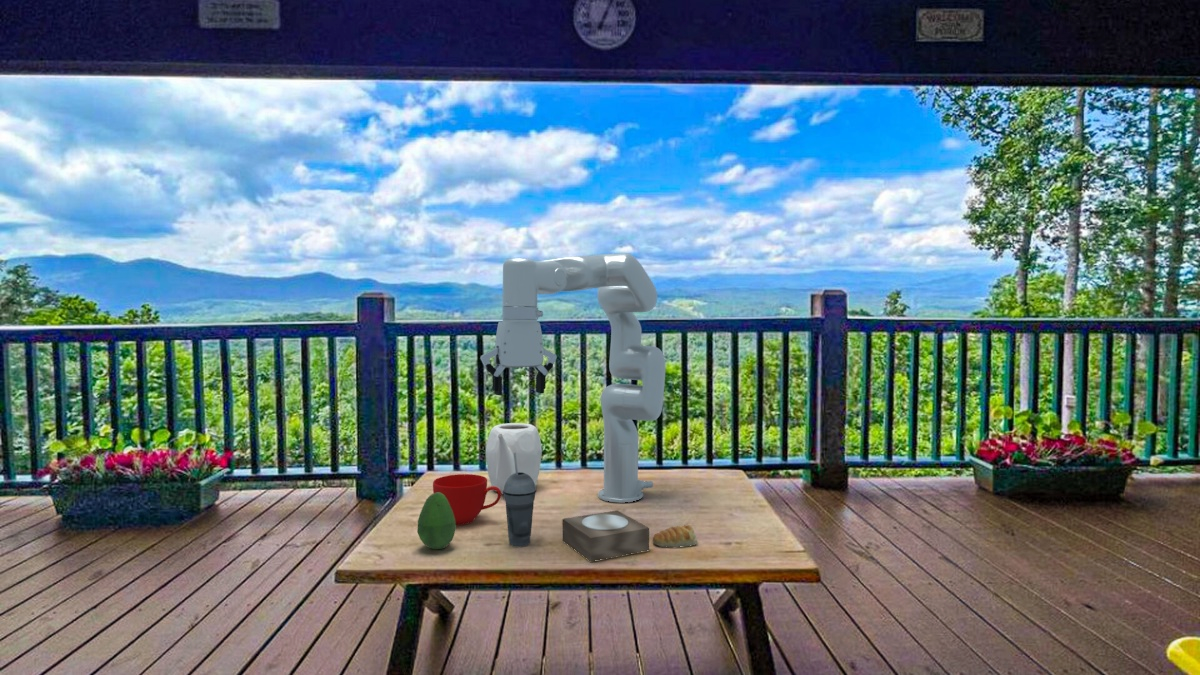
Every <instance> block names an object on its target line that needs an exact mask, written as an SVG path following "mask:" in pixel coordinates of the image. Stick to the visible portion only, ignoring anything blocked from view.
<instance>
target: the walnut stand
mask: <svg viewBox="0 0 1200 675" xmlns="http://www.w3.org/2000/svg"><path fill="white" fill-rule="evenodd" d="M561 524H562V528H561V529H562V532H561V533H562V534H561V535H562V537H561V538H562V542H563V543H564V542H565V543H564V544H566V545H567V544H568V545H569V548H571V547H572V548H573V550H574V549H575V550H576V551H577V552H576V551H575V550H574V551H575V552H576V553H578V552H579V553H580V554H581V555H583V556H584V557H585V558H587V559H588V560H589V561H595V560H600V559H606V558H611V557H616V556H621V557H623V556H622V555H626V554H631V553H637V552H641V551H647V550H649V551H650V527H649V526H646V524H643V523H641V522H639V521H638V520H636V519H634V518H632V517H631V516H629V515H627V514H625V513H623V512H621V511H619V509H618V510H612V511H603V512H597V513H592V514H586V515H585V514H584V515H579V516H571V517H565V518H562V523H561ZM568 545H567V546H568ZM572 548H571V549H572ZM647 552H648V551H647ZM579 553H578V554H579ZM580 554H579V555H580ZM637 554H638V553H637ZM581 555H580V556H581ZM583 556H582V557H583ZM584 557H583V558H584ZM585 558H584V559H585ZM616 558H617V557H616ZM587 559H586V560H587ZM611 559H612V558H611ZM588 560H587V561H588ZM606 560H607V559H606ZM589 561H588V562H589ZM600 561H601V560H600ZM595 562H596V561H595Z"/></svg>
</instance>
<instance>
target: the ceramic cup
mask: <svg viewBox="0 0 1200 675" xmlns="http://www.w3.org/2000/svg"><path fill="white" fill-rule="evenodd" d="M495 490H496V491H495ZM489 491H495V492H496V493H497V498H496V499H495V500H494V501H493V502H492V503H490V504H486V505H485V502H486V499H487V498H486V497H487V494H488V492H489ZM432 492H433V493H436V492H440V493H442V494H443V495H445V497H446V498H447V500H448V502H449V504H450V507H451V509H452V511H453V514H454V517H455V523H456V526H464V525H468V524H471V523H473V522H474V521H475V519H476V518H478V516H479V514H480V513H481V511H483V510H487V509H490V508H492V507H494V506H495V505H497V504H498V503H499V502H500V501H501V497H502V494H501V491H500V489H499V488H498V487H495V486H489V487H488V479H487V477H485V476H484V475H479V474H473V473H469V474H467V473H465V474H464V473H463V474H459V473H458V474H449V475H444V476H440V477H438V478H436V479H434V480H433V482H432ZM433 493H432V494H433Z"/></svg>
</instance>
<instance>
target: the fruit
mask: <svg viewBox="0 0 1200 675" xmlns="http://www.w3.org/2000/svg"><path fill="white" fill-rule="evenodd" d="M456 529H457V525H456V523H455V517H454V514H453V511H452V509H451V507H450V504H449V502H448V500H447V498H446V497H445V495H443V494H442V493H440V492H436V493H431V494H430V495H429V496H428V497H427V498H426V499H425V502H424V504H423V506H422V509H421V510H420V513H419V516H418V519H417V531H416V532H417V535H418V537H419V539H420V541H421V542H422V544H424V546H426V547H428V548H430V549H433V550H442V549H444V548H447V546H449V544H451V542H452V541H453V539H454V537H455V534H456Z"/></svg>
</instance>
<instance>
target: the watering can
mask: <svg viewBox="0 0 1200 675" xmlns="http://www.w3.org/2000/svg"><path fill="white" fill-rule="evenodd" d="M538 430H539V429H538V427H536V426H535V425H533V424H530V423H523V422H509V423H501V424H500V423H499V424H497V425H494V426H493V427H492V428H491V430H490V432H489V433H488V437H487V440H486V441H487V442H486V448H485V457H486V465H487V468H486V469H487V475H488V478H489V483H490V487H492V486H495V487H498V488H499V489H500V491H501V495H504V493H503V490H504V485H505V482H506V481H507V479H508V478H509V477H510V476H511V475H512V474H515V473H516V471H515V462H514V453H516V460H517V469H518V473H519V472H522V473H526V474H528V475H529V476H530V477H531V478H532V479H533V481H534V483H535V487H537V486H536V485H537V482H538V478H539V476H540V475H539V474H540V468H541V461H542V453H543V447H542V442H541V437H540V434H539V431H538ZM494 491H495V492H497V491H496V490H494Z"/></svg>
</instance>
